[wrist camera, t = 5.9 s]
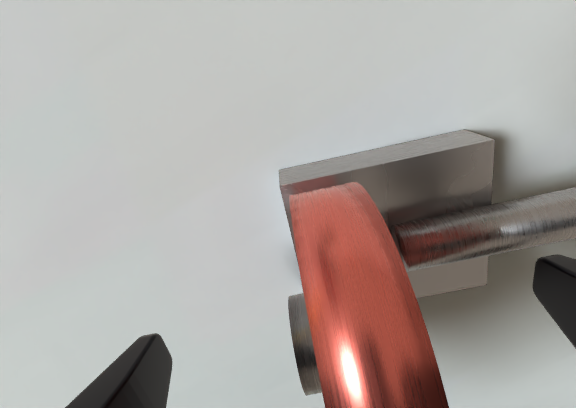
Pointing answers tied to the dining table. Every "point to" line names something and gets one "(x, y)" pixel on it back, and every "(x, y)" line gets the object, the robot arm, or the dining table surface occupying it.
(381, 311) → the red disc wheel
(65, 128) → the dining table surface
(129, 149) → the dining table surface
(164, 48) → the dining table surface
